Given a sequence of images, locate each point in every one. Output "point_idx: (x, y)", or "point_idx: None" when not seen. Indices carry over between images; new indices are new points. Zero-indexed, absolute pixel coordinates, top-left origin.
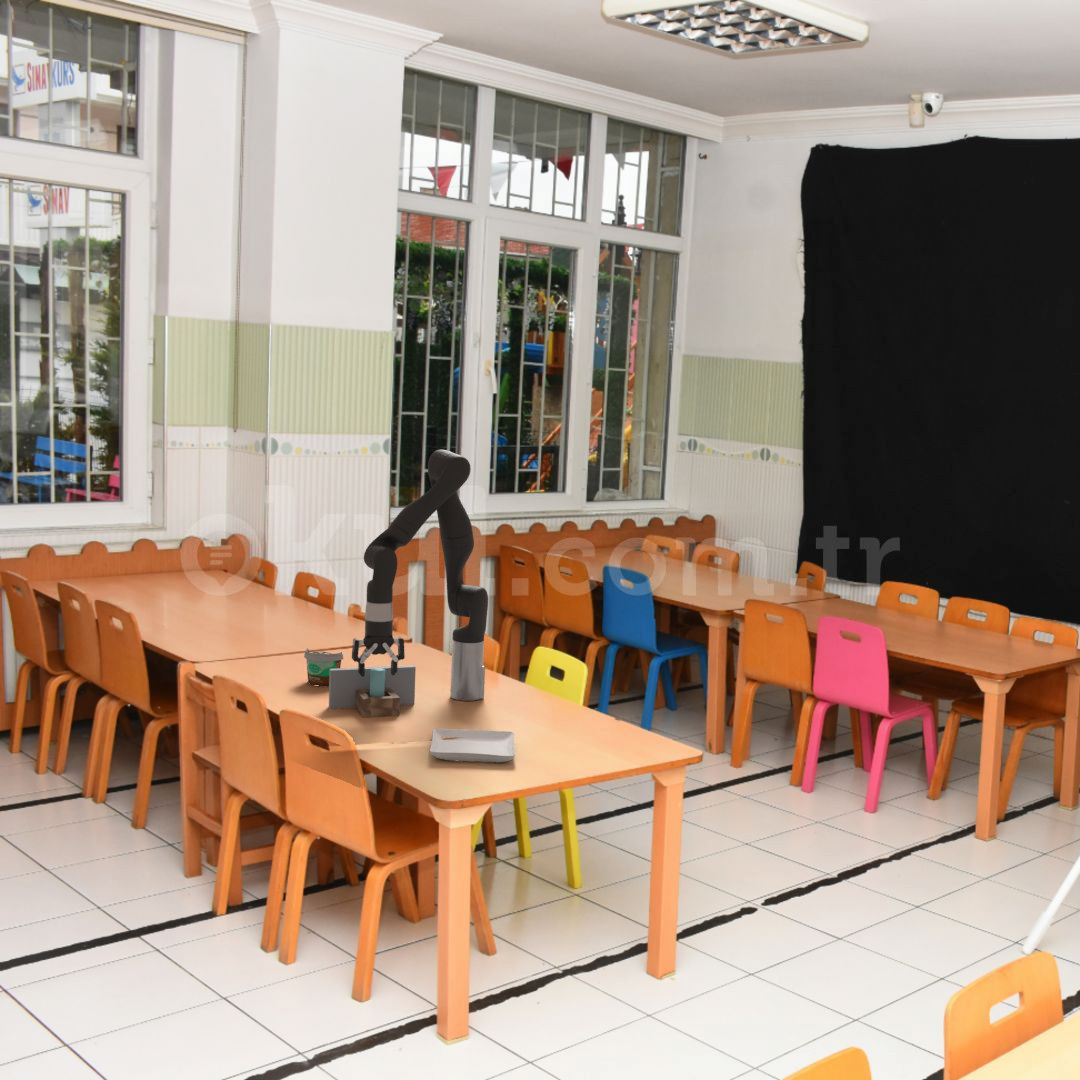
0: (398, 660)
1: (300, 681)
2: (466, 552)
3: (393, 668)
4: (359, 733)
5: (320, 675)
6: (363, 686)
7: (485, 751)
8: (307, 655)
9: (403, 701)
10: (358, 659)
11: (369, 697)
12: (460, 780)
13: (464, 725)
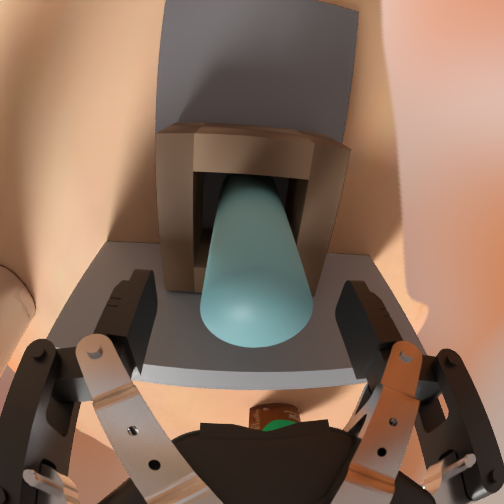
0: (79, 346)
1: (304, 418)
2: None
3: (134, 298)
4: (375, 18)
5: (289, 421)
6: None
7: None
8: None
9: (130, 256)
10: (425, 370)
11: (310, 174)
12: None
13: (18, 49)
